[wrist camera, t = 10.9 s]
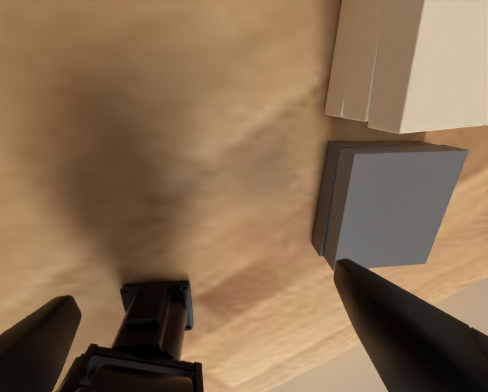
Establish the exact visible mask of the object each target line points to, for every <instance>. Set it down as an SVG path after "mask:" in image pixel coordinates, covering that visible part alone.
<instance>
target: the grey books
mask: <svg viewBox="0 0 488 392" xmlns="http://www.w3.org/2000/svg"><path fill="white" fill-rule="evenodd" d="M467 153H468V150H466V149H461V148H456V147H451V146H447V145H435V144H430V143H426V142H364V141H329V144H328V150H327V156H326V162H325V168H324V173H323V179H322V185H321V191H320V197H319V203H318V209H317V215H316V221H315V226H314V232H313V238H312V245H313V247H314V248H315V250H316V251H317V253H318V255H319V256H324V258H325V259H326V261H327V262H328V264H329V265H330V267H331V268H332V270H333V271H334V269H335V262H336V260H338V259H345V258H347V259H350V260H352V261H354V262H356V263H357V264H359V265H361V266H363V267H365V268H376V267H389V266H401V265H414V264H425V263H426V261H427V258H428V256H429V253H430V250H431V248H432V245H433V242H434V240H435V237H436V235H437V232H438V229H439V227H440V224H441V222H442V219H443V216H444V214H445V211H446V208H447V206H448V203H449V201H450V198H451V195H452V193H453V190H454V187H455V185H456V182H457V180H458V177H459V174H460V172H461V169H462V167H463V164H464V161H465V159H466V156H467Z"/></svg>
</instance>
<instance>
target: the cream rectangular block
mask: <svg viewBox="0 0 488 392" xmlns="http://www.w3.org/2000/svg"><path fill="white" fill-rule="evenodd" d="M482 125H488V0H384V7H383V15H382V22H381V30H380V37H379V45H378V52H377V60H376V67H375V75H374V82H373V90H372V97H371V105H370V112H369V120H368V128H373V129H378V130H383V131H388V132H393V133H398V134H403V133H413V132H423V131H433V130H442V129H452V128H462V127H472V126H482Z"/></svg>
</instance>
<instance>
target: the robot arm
mask: <svg viewBox="0 0 488 392" xmlns="http://www.w3.org/2000/svg"><path fill="white" fill-rule="evenodd" d="M334 283H335V286H336V288H337V290H338V293H339V295H340V297H341V300H342V302H343V305H344V307H345V309H346V312H347V314H348V316H349V319H350V321H351V323H352V325H353V327H354V329H355V331H356V333H357V335H358V337H359V339H360V341H361V342H362V344H363V346H364V348H365V350H366V352H367V353H368V355H369V357H370V359H371V361H372V362H373V364H374V366H375V368H376V370H377V372H378V373H379V375H380V377H381V379H382V381H383V382H384V384H385V386H386V388H387V390H388V392H488V336H487V335H485V334H483V333H481V332H480V331H478V330H476V329H474V328H470V327H469V326H468V325H467V324H465V323H463V322H462V321H460V320H458V319H456V318H454V317H452V316H451V315H449V314H447V313H445V312H444V311H442V310H440V309H438V308H436V307H434V306H433V305H431V304H429V303H427V302H426V301H424V300H422V299H420V298H418V297H417V296H415V295H413V294H411V293H409V292H408V291H406V290H404V289H402V288H400V287H399V286H397V285H395V284H393V283H391V282H390V281H388V280H386V279H384V278H382V277H381V276H379V275H377V274H375V273H373V272H372V271H370V270H368V269H366V268H365V267H363V266H361V265H359V264H357V263H356V262H354V261H352V260H350V259H347V258H345V259H338V260H336V262H335V269H334ZM183 286H186V287H183ZM125 289H126V290H125ZM120 293H121V297H122V301H123V305H124V309H125V313H126V314H125V317H124V319H123V321H122V324H121V326H120V328H119V330H118V333H117V335H116V337H115V340H114V342H113V344H112V347H111V348H106V347H100V346H98V345H97V344H90V346H89V347H88V349H87V351H86V352H85V354H82V355H81V356H80V357H77V358H75V360H74V362H73V364H72V366H71V368H70V369H69V371H68V373H67V375H66V376H65V378H64V380H63V382H62V383H61V385H60V386H59V388H58V389H57V390H56V392H204V390H203V376H202V363H199V362H195V363H191V362H186V361H180V358H181V351H182V344H183V338H184V331H186V330H191V329H192V328H193V313H192V302H191V290H190V283H189V282H187V281H180V282H160V283H141V284H125V285H123V286H122V288H121V290H120ZM80 320H81V311H80V309H79V307H78V305H77V303H76V301H75V299H74V298H73V297H72V296H71V295H66V296H59V297H56V298H54V299H52V300H51V301H49V302H48V303H47V304H45V305H44V306H42V307H41V308H39V309H38V310H36V311H35V312H33V313H32V314H30V315H29V316H27V317H26V318H24V319H23V320H21V321H20V322H18V323H17V324H15V325H14V326H13V327H11V328H10V329H8V330H7V331H5V332H4V333H2V334H1V335H0V392H52V391H53V389H54V386H55V384H56V382H57V380H58V378H59V376H60V373H61V371H62V369H63V366H64V364H65V361H66V358H67V356H68V353H69V350H70V347H71V345H72V342H73V339H74V337H75V334H76V331H77V329H78V326H79V323H80Z"/></svg>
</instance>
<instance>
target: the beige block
mask: <svg viewBox="0 0 488 392" xmlns="http://www.w3.org/2000/svg"><path fill="white" fill-rule="evenodd" d="M383 7H384V0H342V3H341V9H340V16H339V22H338V29H337V35H336V42H335V48H334V55H333V61H332V68H331V74H330V80H329V87H328V93H327V100H326V106H325V113H324V115H329V116H335V117H343V118H345V119H351V120H358V121H364V122H368V120H369V112H370V105H371V97H372V90H373V82H374V75H375V67H376V60H377V52H378V45H379V37H380V30H381V22H382V15H383Z"/></svg>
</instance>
